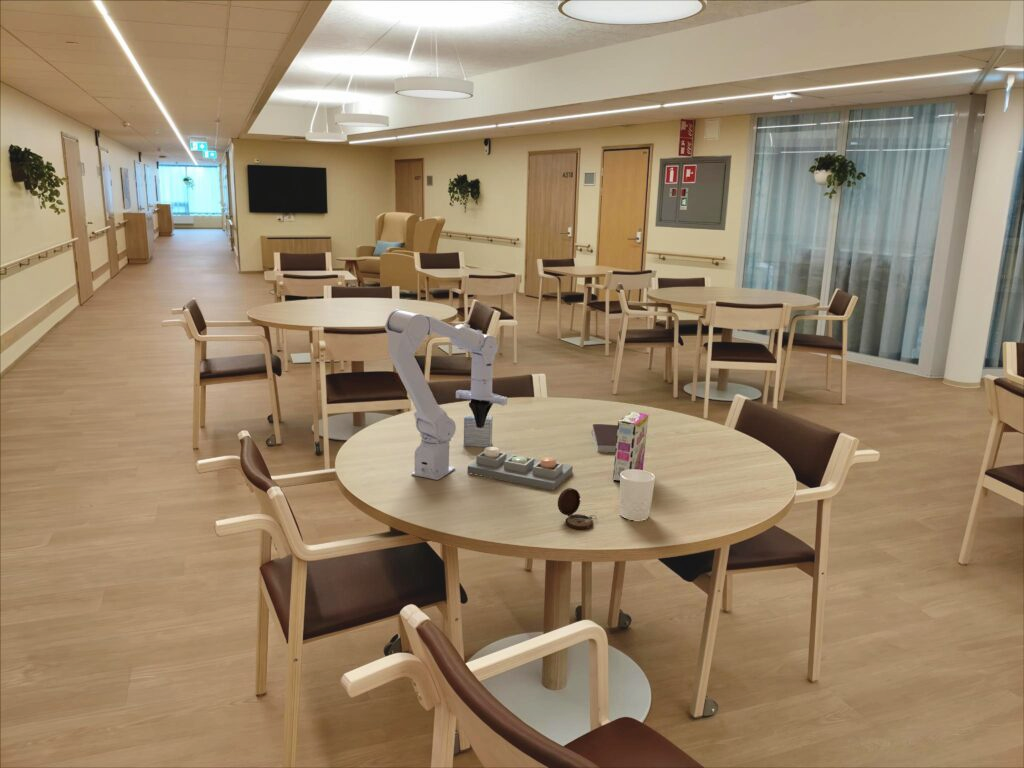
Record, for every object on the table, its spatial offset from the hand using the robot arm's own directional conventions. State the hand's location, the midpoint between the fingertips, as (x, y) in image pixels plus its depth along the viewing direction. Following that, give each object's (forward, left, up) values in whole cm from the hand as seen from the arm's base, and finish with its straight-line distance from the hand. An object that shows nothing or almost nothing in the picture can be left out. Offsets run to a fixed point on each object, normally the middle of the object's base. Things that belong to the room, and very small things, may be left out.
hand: (480, 426), depth 204 cm
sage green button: (-5, -14, -7) cm, 17 cm away
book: (+34, -29, -10) cm, 45 cm away
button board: (-4, -14, -9) cm, 17 cm away
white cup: (-16, -48, -10) cm, 51 cm away
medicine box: (+11, +6, -10) cm, 16 cm away
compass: (-25, -38, -10) cm, 47 cm away
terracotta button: (-5, -22, -6) cm, 23 cm away
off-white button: (-5, -6, -6) cm, 10 cm away
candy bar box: (+8, -40, -10) cm, 42 cm away
